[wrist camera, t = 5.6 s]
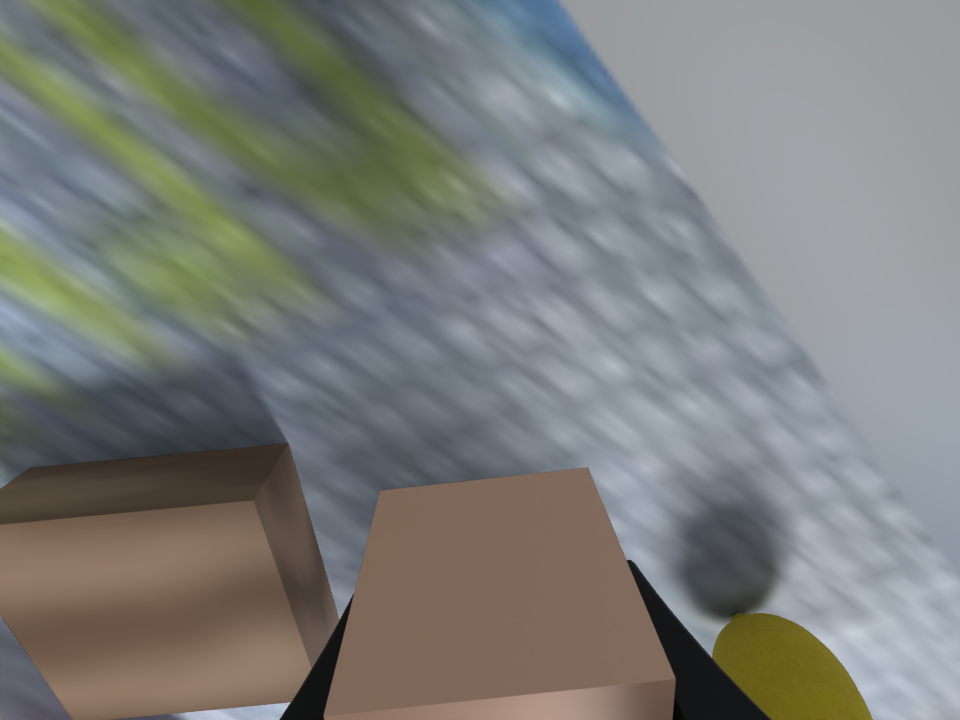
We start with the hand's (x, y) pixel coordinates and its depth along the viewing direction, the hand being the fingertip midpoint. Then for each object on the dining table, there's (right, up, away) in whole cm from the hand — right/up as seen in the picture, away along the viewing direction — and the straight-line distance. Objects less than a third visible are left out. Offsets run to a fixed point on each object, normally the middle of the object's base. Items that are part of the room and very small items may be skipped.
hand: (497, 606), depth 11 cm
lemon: (+13, -8, +14) cm, 21 cm away
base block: (-14, -3, +12) cm, 18 cm away
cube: (0, +1, +1) cm, 1 cm away
